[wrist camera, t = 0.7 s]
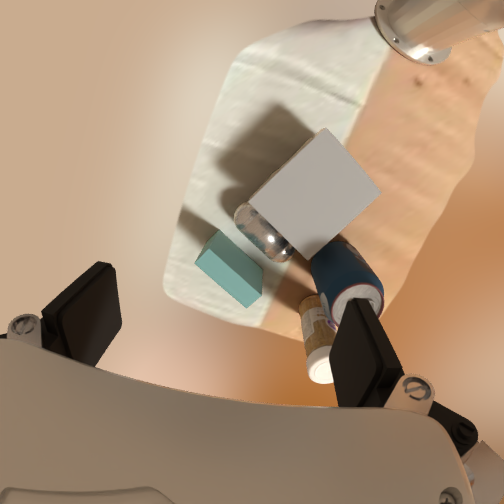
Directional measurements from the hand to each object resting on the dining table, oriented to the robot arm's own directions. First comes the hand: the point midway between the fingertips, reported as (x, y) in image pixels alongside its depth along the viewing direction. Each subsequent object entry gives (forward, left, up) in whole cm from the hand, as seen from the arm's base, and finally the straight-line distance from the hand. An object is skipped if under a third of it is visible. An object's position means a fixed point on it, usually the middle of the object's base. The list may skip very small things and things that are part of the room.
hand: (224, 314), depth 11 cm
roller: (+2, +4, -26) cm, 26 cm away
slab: (-6, +4, -22) cm, 23 cm away
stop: (+8, +4, -26) cm, 28 cm away
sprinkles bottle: (+5, +18, -27) cm, 32 cm away
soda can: (-1, +14, -27) cm, 30 cm away
